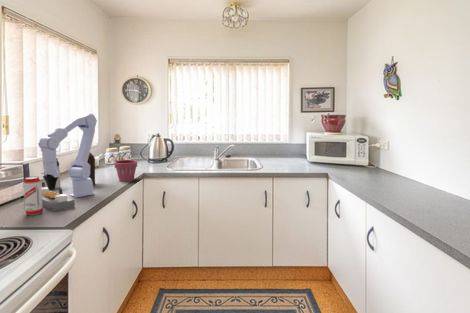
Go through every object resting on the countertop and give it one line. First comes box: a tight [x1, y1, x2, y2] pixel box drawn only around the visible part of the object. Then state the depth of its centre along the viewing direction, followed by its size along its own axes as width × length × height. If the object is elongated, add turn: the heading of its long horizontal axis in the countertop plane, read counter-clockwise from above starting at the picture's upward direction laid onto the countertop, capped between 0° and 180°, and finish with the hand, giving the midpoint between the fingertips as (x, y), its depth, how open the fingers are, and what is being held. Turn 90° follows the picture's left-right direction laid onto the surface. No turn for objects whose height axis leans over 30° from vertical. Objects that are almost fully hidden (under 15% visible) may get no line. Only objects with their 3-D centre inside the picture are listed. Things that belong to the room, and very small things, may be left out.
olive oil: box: [75, 152, 96, 186], centre depth 185 cm, size 11×11×25 cm
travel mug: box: [43, 156, 61, 190], centre depth 176 cm, size 8×8×18 cm
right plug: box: [55, 187, 68, 202], centre depth 139 cm, size 4×4×6 cm
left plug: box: [41, 181, 50, 194], centre depth 151 cm, size 4×4×6 cm
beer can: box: [23, 175, 44, 216], centre depth 131 cm, size 6×6×16 cm
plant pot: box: [113, 159, 138, 183], centre depth 200 cm, size 14×14×13 cm
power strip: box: [42, 190, 76, 213], centre depth 146 cm, size 9×26×4 cm, turn 52°
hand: (51, 189), depth 145 cm, fingers closed
